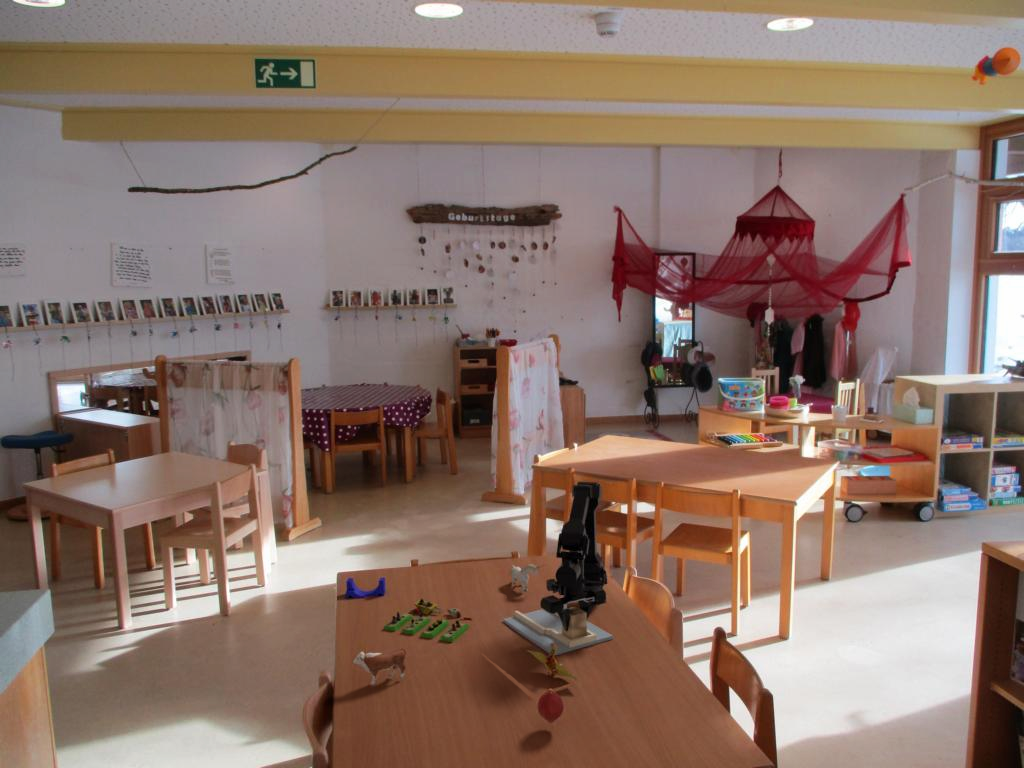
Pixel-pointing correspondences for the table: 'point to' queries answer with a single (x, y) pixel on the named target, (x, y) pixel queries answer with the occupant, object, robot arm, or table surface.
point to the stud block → (576, 624)
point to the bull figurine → (382, 662)
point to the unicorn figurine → (523, 574)
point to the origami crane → (552, 662)
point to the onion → (550, 706)
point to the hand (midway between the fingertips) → (574, 628)
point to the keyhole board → (553, 631)
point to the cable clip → (358, 593)
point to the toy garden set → (421, 622)
